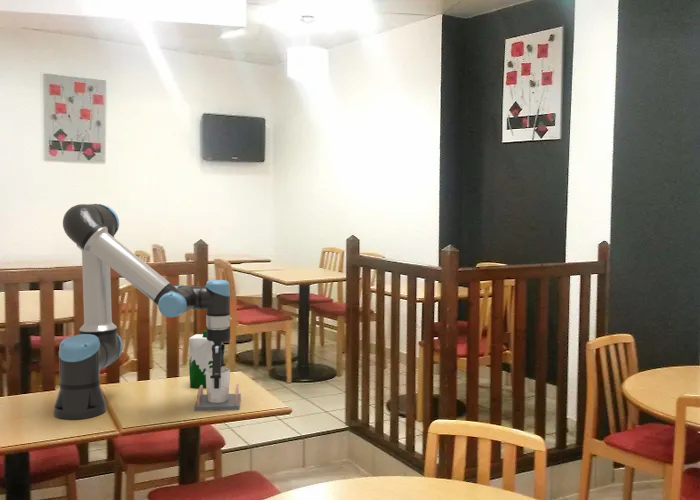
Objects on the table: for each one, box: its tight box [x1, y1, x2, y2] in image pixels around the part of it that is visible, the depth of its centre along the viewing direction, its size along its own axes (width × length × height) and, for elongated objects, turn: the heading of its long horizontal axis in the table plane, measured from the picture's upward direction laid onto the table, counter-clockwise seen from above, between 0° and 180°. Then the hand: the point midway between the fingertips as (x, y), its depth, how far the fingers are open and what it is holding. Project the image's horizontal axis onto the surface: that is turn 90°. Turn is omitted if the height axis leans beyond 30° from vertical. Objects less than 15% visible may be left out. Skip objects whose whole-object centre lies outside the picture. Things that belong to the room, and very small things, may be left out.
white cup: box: [205, 366, 231, 403], centre depth 222 cm, size 8×8×10 cm
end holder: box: [193, 383, 242, 412], centre depth 223 cm, size 14×14×5 cm
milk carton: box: [188, 329, 214, 389], centre depth 244 cm, size 9×9×20 cm
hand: (218, 392), depth 223 cm, fingers open, 13 cm apart
